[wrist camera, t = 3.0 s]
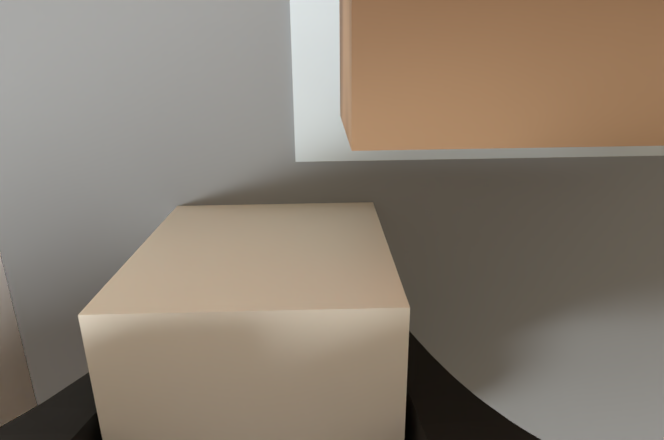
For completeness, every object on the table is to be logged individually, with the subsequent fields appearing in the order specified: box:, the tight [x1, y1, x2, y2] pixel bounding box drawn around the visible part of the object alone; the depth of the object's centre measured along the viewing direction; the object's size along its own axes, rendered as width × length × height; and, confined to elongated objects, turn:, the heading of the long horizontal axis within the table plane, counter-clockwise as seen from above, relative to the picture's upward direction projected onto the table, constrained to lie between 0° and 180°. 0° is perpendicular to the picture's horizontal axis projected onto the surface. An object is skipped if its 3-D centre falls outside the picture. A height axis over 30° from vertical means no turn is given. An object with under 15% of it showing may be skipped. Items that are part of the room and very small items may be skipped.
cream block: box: [78, 202, 410, 440], centre depth 10 cm, size 7×4×5 cm, turn 1°
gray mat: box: [0, 0, 664, 440], centre depth 11 cm, size 18×17×1 cm
